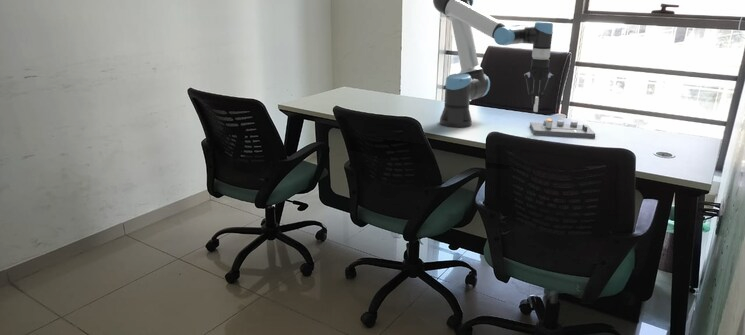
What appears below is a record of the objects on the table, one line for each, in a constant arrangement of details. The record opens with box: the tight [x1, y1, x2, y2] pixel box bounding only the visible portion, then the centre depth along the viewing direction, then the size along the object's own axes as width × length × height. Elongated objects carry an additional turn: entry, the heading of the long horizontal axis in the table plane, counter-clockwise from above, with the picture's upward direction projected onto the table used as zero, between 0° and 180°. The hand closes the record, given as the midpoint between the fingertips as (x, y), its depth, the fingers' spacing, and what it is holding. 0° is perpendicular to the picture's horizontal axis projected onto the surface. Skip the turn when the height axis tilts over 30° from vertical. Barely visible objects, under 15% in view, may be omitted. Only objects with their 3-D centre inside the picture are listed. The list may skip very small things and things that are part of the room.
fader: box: [546, 118, 553, 128], centre depth 241 cm, size 2×4×3 cm, turn 170°
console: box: [529, 119, 596, 139], centre depth 242 cm, size 26×16×4 cm, turn 80°
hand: (535, 111), depth 240 cm, fingers closed
